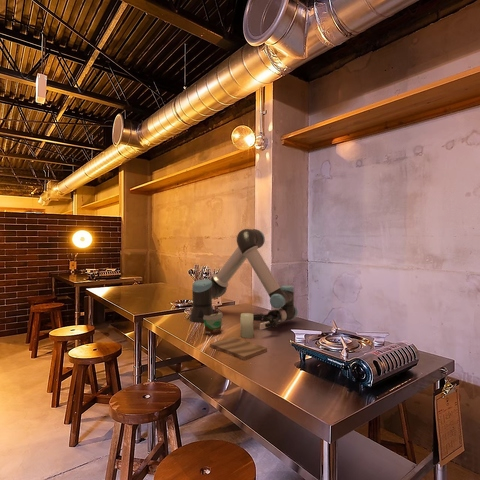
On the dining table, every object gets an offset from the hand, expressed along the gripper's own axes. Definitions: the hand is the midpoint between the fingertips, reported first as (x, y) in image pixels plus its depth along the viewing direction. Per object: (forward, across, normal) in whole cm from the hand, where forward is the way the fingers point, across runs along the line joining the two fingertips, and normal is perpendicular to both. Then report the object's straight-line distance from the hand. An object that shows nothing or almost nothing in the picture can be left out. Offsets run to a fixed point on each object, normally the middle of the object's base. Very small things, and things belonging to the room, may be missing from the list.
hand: (250, 324), depth 160 cm
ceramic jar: (+2, +1, -6) cm, 6 cm away
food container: (+9, +16, -6) cm, 19 cm away
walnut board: (+18, -9, -6) cm, 21 cm away
